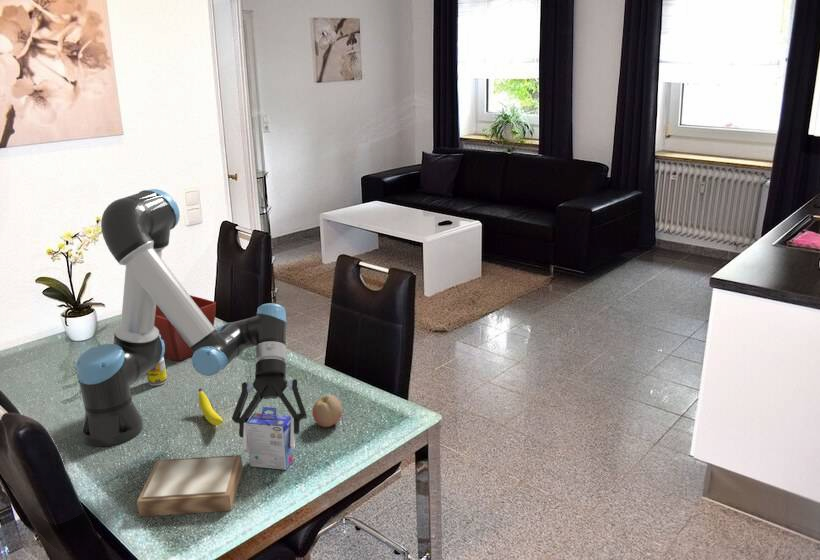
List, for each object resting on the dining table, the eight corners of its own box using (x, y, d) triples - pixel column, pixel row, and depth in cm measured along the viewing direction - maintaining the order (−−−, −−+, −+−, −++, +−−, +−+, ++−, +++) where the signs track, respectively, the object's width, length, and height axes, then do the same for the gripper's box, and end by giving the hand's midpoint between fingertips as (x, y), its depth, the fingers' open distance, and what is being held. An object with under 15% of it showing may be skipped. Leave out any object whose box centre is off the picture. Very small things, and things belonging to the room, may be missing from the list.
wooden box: (139, 516, 153) (136, 500, 152) (159, 474, 168) (156, 459, 167) (231, 510, 154) (229, 494, 153) (242, 469, 169) (240, 453, 168)
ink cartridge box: (295, 458, 173) (290, 406, 168) (287, 470, 168) (282, 418, 163) (258, 454, 175) (252, 403, 170) (249, 467, 170) (243, 414, 165)
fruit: (310, 420, 190) (307, 394, 188) (337, 414, 193) (336, 388, 191) (318, 434, 183) (315, 407, 181) (347, 427, 186) (345, 401, 184)
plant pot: (188, 336, 250) (181, 292, 245) (223, 347, 239) (217, 301, 234) (141, 355, 236) (133, 308, 230) (176, 368, 225) (169, 320, 219)
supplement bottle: (144, 384, 214) (139, 354, 211) (156, 377, 219) (152, 347, 216) (159, 387, 212) (154, 356, 209) (171, 379, 217) (166, 349, 214)
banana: (218, 438, 183) (215, 417, 181) (197, 409, 198) (194, 389, 196) (228, 435, 184) (226, 414, 182) (207, 406, 200) (204, 387, 198)
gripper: (221, 359, 173) (217, 448, 163) (314, 354, 174) (315, 442, 164) (228, 369, 180) (223, 455, 170) (317, 364, 181) (318, 449, 171)
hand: (269, 449), depth 167 cm, fingers closed on ink cartridge box, 11 cm apart
